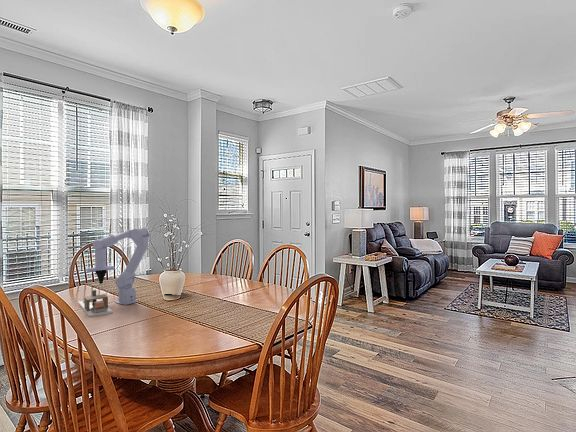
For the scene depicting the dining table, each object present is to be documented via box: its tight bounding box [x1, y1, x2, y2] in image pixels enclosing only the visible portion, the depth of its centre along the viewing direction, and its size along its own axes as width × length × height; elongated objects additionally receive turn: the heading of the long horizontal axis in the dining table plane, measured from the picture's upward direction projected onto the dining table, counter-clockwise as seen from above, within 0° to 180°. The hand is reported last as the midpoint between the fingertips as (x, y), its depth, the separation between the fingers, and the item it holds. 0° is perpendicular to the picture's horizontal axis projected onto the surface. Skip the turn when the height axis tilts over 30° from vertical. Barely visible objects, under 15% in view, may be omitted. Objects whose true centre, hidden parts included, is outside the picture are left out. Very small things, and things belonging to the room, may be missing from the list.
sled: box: [90, 289, 107, 313], centre depth 191 cm, size 16×6×8 cm, turn 39°
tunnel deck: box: [77, 293, 113, 318], centre depth 197 cm, size 32×11×7 cm, turn 39°
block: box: [94, 300, 104, 310], centre depth 187 cm, size 4×4×4 cm
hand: (100, 283), depth 210 cm, fingers closed
